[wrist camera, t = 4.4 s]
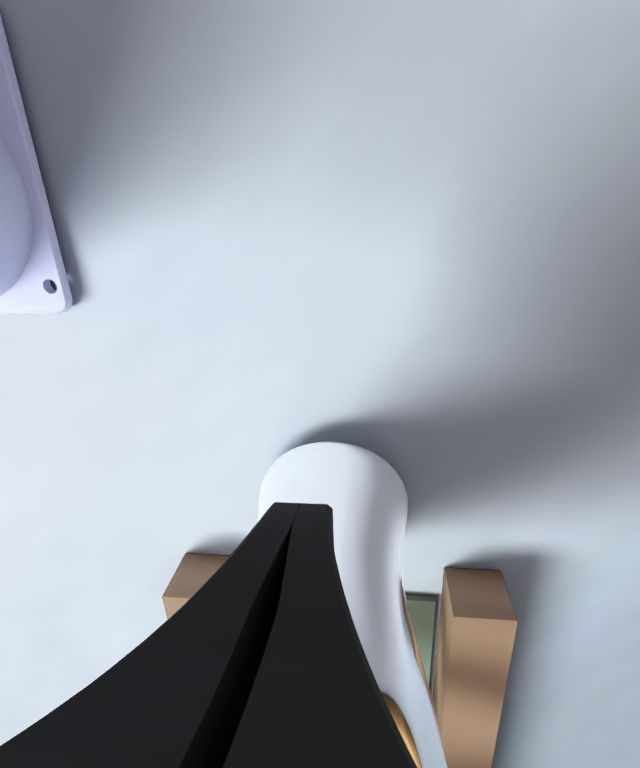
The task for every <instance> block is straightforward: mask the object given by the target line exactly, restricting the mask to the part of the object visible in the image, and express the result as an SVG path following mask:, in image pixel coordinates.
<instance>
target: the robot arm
mask: <svg viewBox="0 0 640 768" xmlns="http://www.w3.org/2000/svg"><path fill="white" fill-rule="evenodd" d="M51 280H52V281H54V282H55V284H56V286H57V291H55V290H54V289H53V288H52V287H51V283H50V281H51ZM72 304H73V301H72V295H71V291H70V287H69V283H68V279H67V275H66V271H65V267H64V263H63V259H62V256H61V252H60V248H59V244H58V240H57V236H56V232H55V228H54V224H53V220H52V216H51V212H50V208H49V204H48V200H47V196H46V192H45V189H44V185H43V181H42V177H41V173H40V169H39V165H38V161H37V157H36V153H35V149H34V145H33V141H32V137H31V133H30V129H29V126H28V122H27V118H26V114H25V110H24V106H23V102H22V98H21V94H20V90H19V86H18V82H17V78H16V74H15V70H14V66H13V63H12V59H11V55H10V51H9V47H8V43H7V39H6V35H5V31H4V27H3V23H2V19H1V15H0V314H58V313H62V312H65V311H68V310H69V309H70V308H71V307H72ZM0 768H417V766H416V764H415V762H414V760H413V758H412V756H411V754H410V752H409V750H408V748H407V746H406V744H405V742H404V740H403V738H402V736H401V733H400V731H399V729H398V727H397V725H396V723H395V721H394V719H393V717H392V714H391V712H390V710H389V708H388V706H387V704H386V702H385V700H384V698H383V695H382V693H381V691H380V689H379V686H378V684H377V682H376V679H375V677H374V674H373V672H372V670H371V667H370V665H369V662H368V660H367V657H366V655H365V652H364V650H363V647H362V644H361V642H360V639H359V636H358V634H357V631H356V628H355V625H354V622H353V619H352V616H351V613H350V610H349V607H348V603H347V600H346V597H345V594H344V590H343V586H342V583H341V579H340V575H339V570H338V566H337V562H336V557H335V552H334V531H333V509H332V508H331V507H330V506H329V505H328V504H310V503H285V502H274V503H273V504H272V505H271V506H270V507H269V509H268V510H267V511H266V512H265V514H264V515H263V516H262V518H261V519H260V520H259V521H258V523H257V524H256V525H255V526H254V528H253V529H252V530H251V531H250V533H249V534H248V535H247V536H246V538H245V539H244V540H243V541H242V542H241V544H240V545H239V546H238V547H237V548H236V549H235V550H234V552H233V553H232V554H231V555H230V556H229V557H228V559H227V560H226V561H225V562H224V563H223V564H222V565H221V567H220V568H219V569H218V570H217V571H216V572H215V573H214V574H213V575H212V576H211V577H210V578H209V579H208V580H207V581H206V582H205V583H204V584H203V586H202V587H201V588H200V589H199V590H198V591H197V592H196V593H195V594H194V595H193V596H192V597H191V598H190V599H189V600H188V601H187V602H186V603H185V604H184V605H183V606H182V607H181V608H180V609H179V610H178V611H177V612H176V613H174V614H173V615H172V616H171V617H170V618H169V619H168V620H167V621H166V622H165V623H164V624H163V625H161V626H160V627H159V628H158V629H157V630H156V631H155V632H154V633H152V634H151V635H150V636H149V637H148V638H147V639H146V640H144V641H143V642H142V643H141V644H140V645H138V646H137V647H136V648H135V649H134V650H132V651H131V652H130V653H129V654H127V655H126V656H125V657H124V658H123V659H121V660H120V661H119V662H118V663H116V664H115V665H114V666H113V667H111V668H110V669H109V670H108V671H106V672H105V673H104V674H102V675H101V676H100V677H99V678H97V679H96V680H95V681H93V682H92V683H91V684H90V685H88V686H87V687H86V688H84V689H83V690H81V691H80V692H79V693H77V694H76V695H74V696H73V697H71V698H70V699H69V700H67V701H66V702H64V703H63V704H62V705H60V706H59V707H57V708H56V709H55V710H53V711H52V712H50V713H49V714H47V715H46V716H45V717H43V718H42V719H40V720H39V721H37V722H36V723H34V724H33V725H31V726H30V727H28V728H27V729H26V730H24V731H23V732H21V733H20V734H18V735H16V736H15V737H13V738H12V739H10V740H9V741H7V742H6V743H4V744H3V745H1V746H0Z"/></svg>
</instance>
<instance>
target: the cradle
mask: <svg viewBox="0 0 640 768" xmlns="http://www.w3.org/2000/svg"><path fill="white" fill-rule="evenodd" d="M228 557H229V556H226V555H208V554H190V553H185V555H184V557H183V559H182V561H181V563H180V564H179V566H178V568H177V570H176V572H175V574H174V576H173V577H172V579H171V581H170V583H169V585H168V587H167V589H166V590H165V592H164V594H163V596H162V598H163V602H164V606H165V611H166V615H167V619H169V618H170V617H171V616H172V615H173V614H174V613H176V612H177V611H178V610H179V609H180V608H181V607H182V606H183V605H184V604H185V603H186V602H187V601H188V600H189V599H190V598H191V597H192V596H193V595H194V594H195V593H196V592H197V591H198V590H199V589H200V588H201V587H202V586H203V584H204V583H205V582H206V581H207V580H208V579H209V578H210V577H211V576H212V575H213V574H214V573H215V572H216V571H217V570H218V569H219V568H220V567H221V565H222V564H223V563H224V562H225V561H226V560H227V559H228ZM405 596H406V600H407V604H408V608H409V612H410V617H411V621H412V625H413V629H414V633H415V636H416V640H417V644H418V647H419V651H420V655H421V659H422V662H423V666H424V670H425V674H426V678H427V682H428V686H429V679H430V667H431V654H432V642H433V630H434V618H435V606H436V600H435V596H420V595H405ZM517 623H518V620H517V617H516V614H515V611H514V608H513V605H512V602H511V599H510V596H509V594H508V591H507V588H506V585H505V582H504V579H503V576H502V573H501V571H496V570H478V569H460V568H444V576H443V587H442V599H441V610H440V621H439V633H438V644H437V655H436V667H435V678H434V689H433V705H434V709H435V713H436V717H437V721H438V725H439V729H440V733H441V738H442V742H443V747H444V752H445V756H446V761H447V766H448V768H491V766H492V761H493V755H494V750H495V744H496V739H497V733H498V728H499V722H500V717H501V711H502V706H503V700H504V695H505V689H506V684H507V678H508V673H509V667H510V662H511V656H512V651H513V645H514V640H515V634H516V629H517Z"/></svg>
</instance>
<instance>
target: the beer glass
mask: <svg viewBox="0 0 640 768" xmlns="http://www.w3.org/2000/svg"><path fill="white" fill-rule="evenodd" d="M274 502H285V503H310V504H328V505H329V506H330V507H331V508H332V509H333V531H334V552H335V557H336V562H337V566H338V570H339V575H340V579H341V583H342V586H343V590H344V594H345V597H346V600H347V603H348V607H349V610H350V613H351V616H352V619H353V622H354V625H355V628H356V631H357V634H358V636H359V639H360V642H361V644H362V647H363V650H364V652H365V655H366V657H367V660H368V662H369V665H370V667H371V670H372V672H373V674H374V677H375V679H376V682H377V684H378V686H379V689H380V691H381V693H382V695H383V698H384V700H385V702H386V704H387V706H388V708H389V710H390V712H391V714H392V717H393V719H394V721H395V723H396V725H397V727H398V729H399V731H400V733H401V736H402V738H403V740H404V742H405V744H406V746H407V748H408V750H409V752H410V754H411V756H412V758H413V760H414V762H415V764H416V766H417V768H448V766H447V761H446V756H445V752H444V747H443V742H442V738H441V733H440V729H439V725H438V721H437V717H436V713H435V709H434V705H433V701H432V697H431V693H430V689H429V686H428V682H427V678H426V674H425V670H424V666H423V662H422V659H421V655H420V651H419V647H418V644H417V640H416V636H415V633H414V629H413V625H412V621H411V617H410V612H409V608H408V604H407V600H406V596H405V589H404V582H403V574H402V549H403V541H404V535H405V529H406V522H407V514H408V498H407V492H406V489H405V486H404V484H403V482H402V480H401V478H400V476H399V475H398V473H397V472H396V471H395V469H394V468H393V467H392V466H391V465H390V464H389V463H388V462H386V461H385V460H384V459H383V458H381V457H380V456H378V455H376V454H375V453H373V452H371V451H369V450H367V449H364V448H362V447H359V446H356V445H352V444H348V443H342V442H315V443H309V444H305V445H302V446H299V447H296V448H294V449H292V450H290V451H288V452H286V453H284V454H283V455H281V456H280V457H279V458H278V459H277V460H275V461H274V463H273V464H272V465H271V466H270V468H269V469H268V470H267V472H266V474H265V476H264V478H263V481H262V484H261V488H260V494H259V505H258V520H257V523H258V521H259V520H260V519H261V518H262V516H263V515H264V514H265V512H266V511H267V510H268V509H269V507H270V506H271V505H272V504H273V503H274Z"/></svg>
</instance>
